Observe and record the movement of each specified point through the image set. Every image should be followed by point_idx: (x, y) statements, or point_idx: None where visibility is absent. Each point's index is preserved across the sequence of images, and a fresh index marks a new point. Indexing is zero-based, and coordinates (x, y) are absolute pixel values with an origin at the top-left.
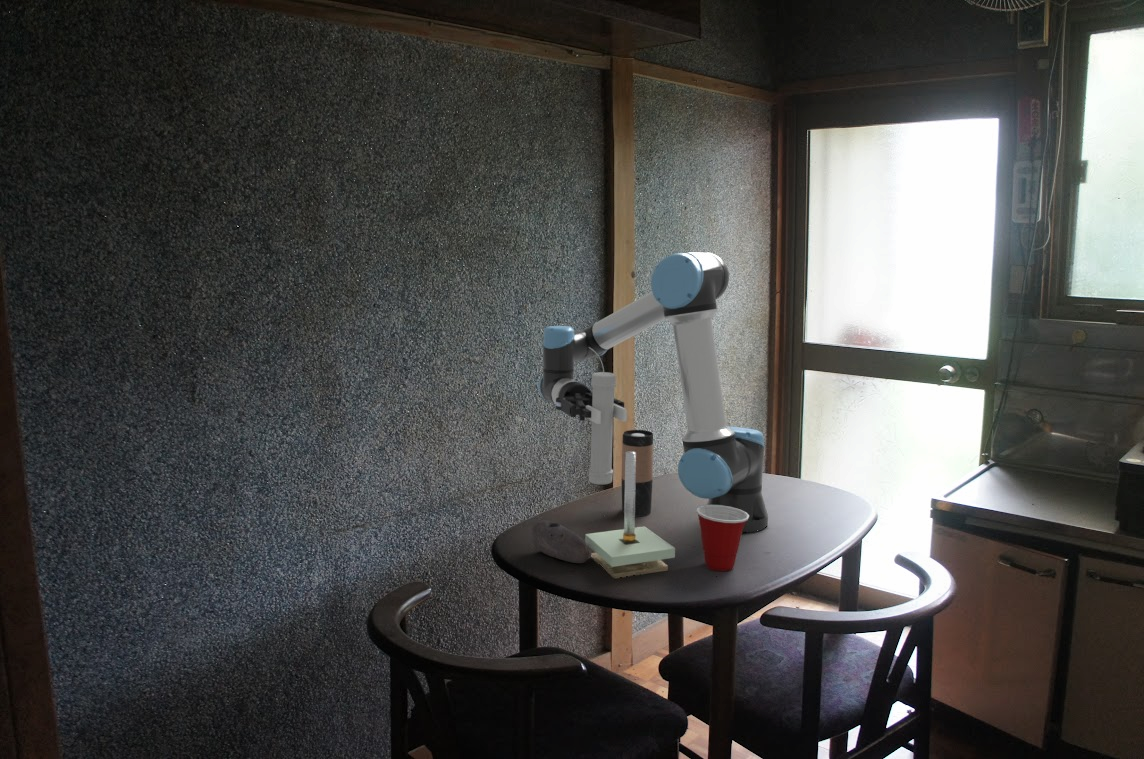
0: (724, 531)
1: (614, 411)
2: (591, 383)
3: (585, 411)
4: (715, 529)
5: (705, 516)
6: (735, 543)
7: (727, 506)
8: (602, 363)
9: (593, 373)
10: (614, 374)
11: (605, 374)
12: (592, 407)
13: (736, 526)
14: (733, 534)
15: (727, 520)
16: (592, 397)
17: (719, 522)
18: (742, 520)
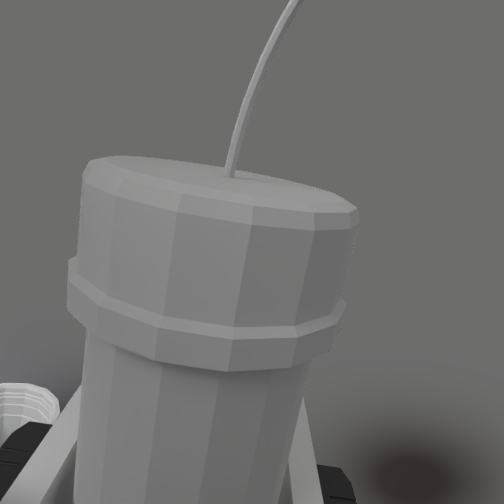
0: (36, 415)
1: (67, 495)
2: (343, 302)
3: (349, 486)
4: (46, 422)
5: (59, 412)
6: (3, 438)
7: None
8: (266, 51)
9: (338, 202)
10: (133, 157)
11: (223, 173)
12: (294, 461)
13: (15, 399)
14: (15, 418)
15: (39, 388)
16: (282, 462)
17: (47, 401)
18: (7, 383)
